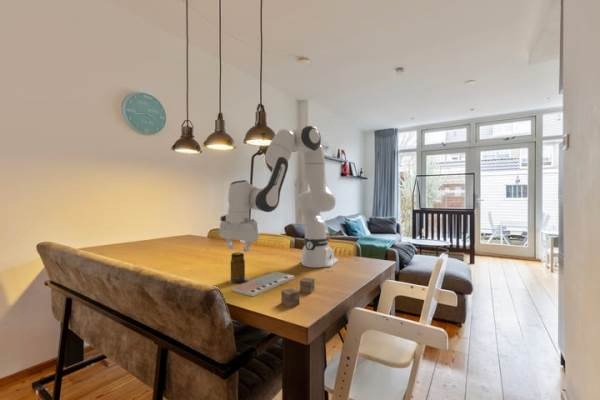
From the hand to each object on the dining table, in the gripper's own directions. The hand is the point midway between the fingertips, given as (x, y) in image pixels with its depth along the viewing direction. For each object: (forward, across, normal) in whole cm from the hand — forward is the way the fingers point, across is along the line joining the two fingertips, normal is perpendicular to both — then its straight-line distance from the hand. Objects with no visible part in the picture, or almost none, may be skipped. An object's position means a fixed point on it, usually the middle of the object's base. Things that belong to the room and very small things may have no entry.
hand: (238, 250), depth 123 cm
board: (+13, -12, -4) cm, 18 cm away
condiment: (+14, 0, -1) cm, 14 cm away
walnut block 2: (+13, -31, -7) cm, 35 cm away
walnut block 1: (+14, -33, +7) cm, 37 cm away
